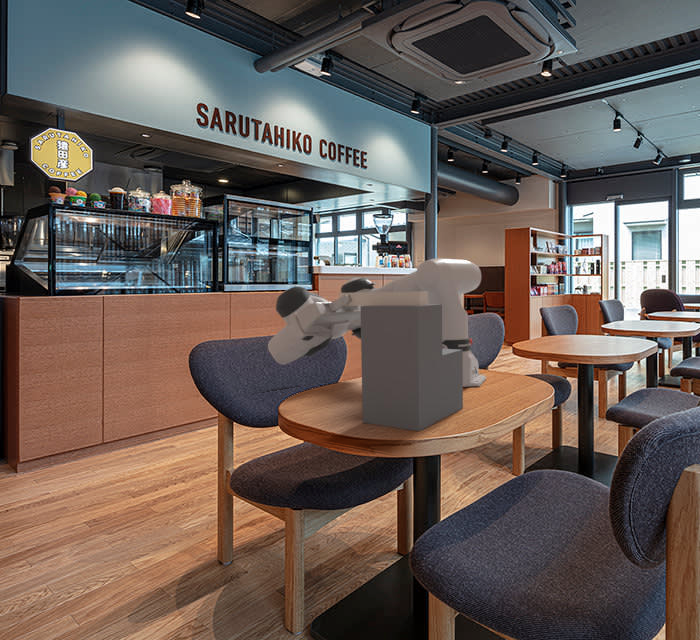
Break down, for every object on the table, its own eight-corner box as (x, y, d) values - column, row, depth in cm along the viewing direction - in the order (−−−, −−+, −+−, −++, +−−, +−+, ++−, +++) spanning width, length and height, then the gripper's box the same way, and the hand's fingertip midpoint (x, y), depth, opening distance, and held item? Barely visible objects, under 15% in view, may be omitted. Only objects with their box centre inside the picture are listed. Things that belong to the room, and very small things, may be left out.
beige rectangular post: (349, 305, 123) (348, 292, 123) (428, 304, 111) (427, 291, 111) (339, 305, 120) (339, 292, 120) (419, 305, 108) (419, 291, 108)
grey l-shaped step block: (412, 402, 133) (410, 303, 131) (462, 408, 125) (462, 302, 124) (362, 422, 113) (360, 306, 112) (419, 431, 105) (417, 306, 104)
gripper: (345, 333, 134) (383, 307, 127) (295, 340, 117) (336, 310, 110) (335, 312, 136) (372, 285, 129) (284, 316, 119) (324, 285, 112)
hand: (355, 297), depth 119 cm, fingers closed on beige rectangular post, 4 cm apart
